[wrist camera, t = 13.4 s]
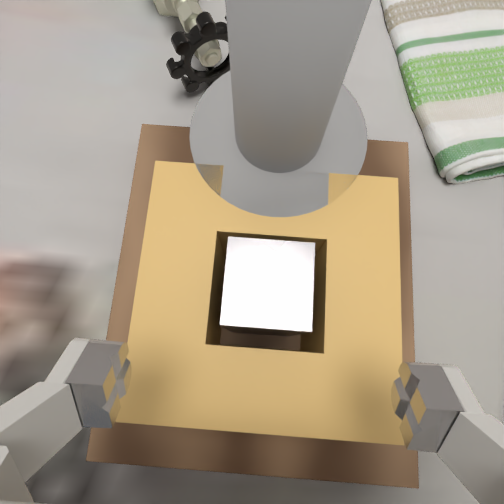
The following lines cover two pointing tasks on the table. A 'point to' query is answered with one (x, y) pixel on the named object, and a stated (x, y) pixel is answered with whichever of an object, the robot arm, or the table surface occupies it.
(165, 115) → the table surface
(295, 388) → the square hole block
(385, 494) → the table surface
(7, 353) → the table surface
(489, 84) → the dish towel
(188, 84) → the valve
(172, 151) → the base board
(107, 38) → the table surface
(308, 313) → the square peg
